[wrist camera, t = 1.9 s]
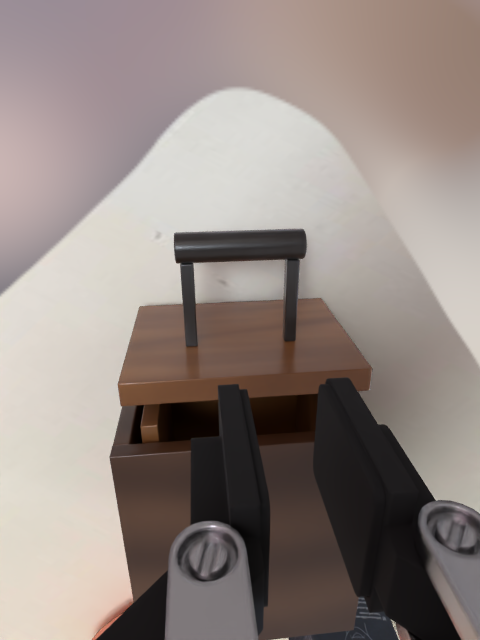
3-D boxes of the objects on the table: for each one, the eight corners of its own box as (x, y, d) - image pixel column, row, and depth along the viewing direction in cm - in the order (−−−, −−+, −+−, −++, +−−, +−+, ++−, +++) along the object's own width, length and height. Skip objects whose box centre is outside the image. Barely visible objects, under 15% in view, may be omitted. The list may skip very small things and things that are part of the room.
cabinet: (136, 346, 29) (109, 457, 19) (323, 336, 30) (384, 436, 21) (155, 508, 35) (142, 654, 25) (310, 495, 36) (353, 630, 27)
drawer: (128, 212, 25) (98, 255, 17) (327, 206, 26) (389, 245, 18) (158, 474, 33) (147, 589, 25) (309, 462, 34) (346, 569, 26)
